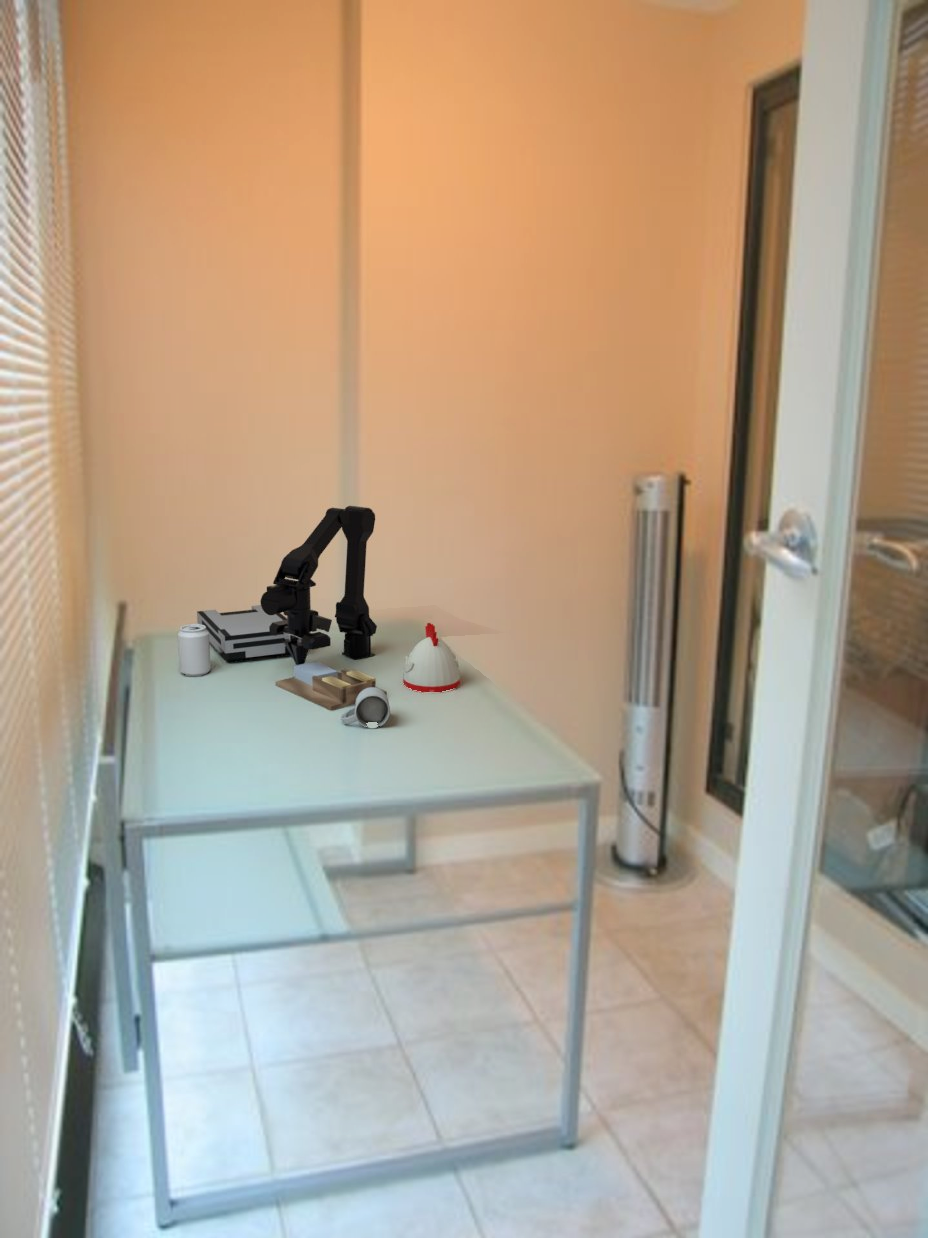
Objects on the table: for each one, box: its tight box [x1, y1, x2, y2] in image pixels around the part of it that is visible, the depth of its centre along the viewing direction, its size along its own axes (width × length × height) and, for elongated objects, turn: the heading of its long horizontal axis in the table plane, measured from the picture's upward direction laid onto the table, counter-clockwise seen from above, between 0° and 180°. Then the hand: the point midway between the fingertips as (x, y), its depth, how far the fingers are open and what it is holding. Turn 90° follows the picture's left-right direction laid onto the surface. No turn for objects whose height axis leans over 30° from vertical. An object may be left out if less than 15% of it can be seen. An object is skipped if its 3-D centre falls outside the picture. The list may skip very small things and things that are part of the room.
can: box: [177, 623, 212, 677], centre depth 261 cm, size 8×8×12 cm
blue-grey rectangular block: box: [293, 661, 339, 686], centre depth 254 cm, size 6×10×3 cm, turn 40°
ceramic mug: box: [340, 687, 391, 728], centre depth 230 cm, size 11×8×8 cm
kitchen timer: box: [402, 622, 461, 693], centre depth 255 cm, size 14×14×15 cm
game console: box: [196, 604, 292, 664], centre depth 285 cm, size 21×32×8 cm, turn 26°
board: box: [275, 668, 388, 712], centre depth 250 cm, size 16×23×5 cm
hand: (300, 667), depth 259 cm, fingers closed
